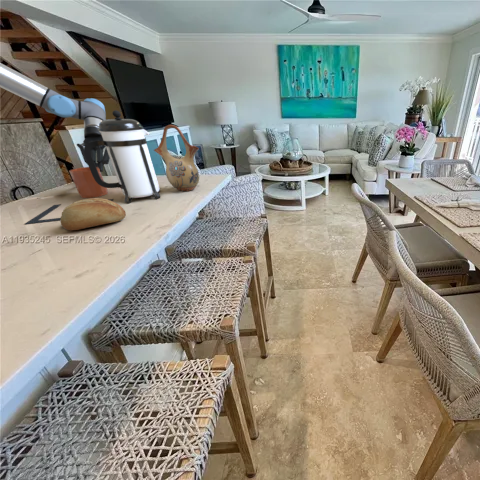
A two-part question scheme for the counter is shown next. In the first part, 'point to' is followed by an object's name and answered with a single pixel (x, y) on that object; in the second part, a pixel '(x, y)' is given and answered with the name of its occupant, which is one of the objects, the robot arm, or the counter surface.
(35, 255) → the counter surface
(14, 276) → the counter surface
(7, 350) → the counter surface
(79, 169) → the terracotta flower pot
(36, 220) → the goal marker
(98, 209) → the bread roll
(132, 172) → the coffee press
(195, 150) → the ceramic vessel
